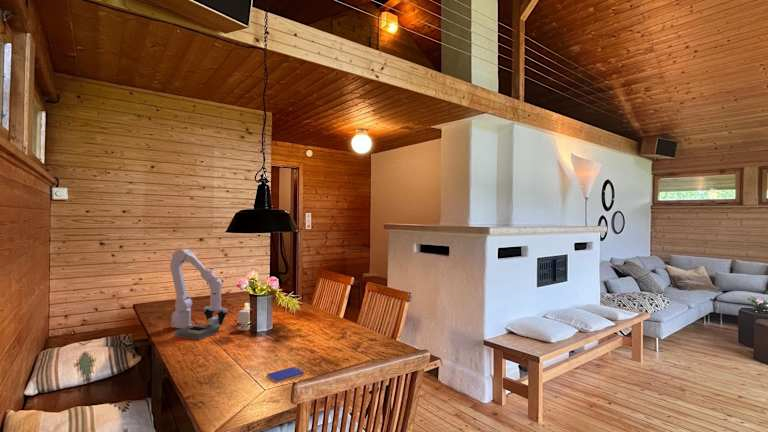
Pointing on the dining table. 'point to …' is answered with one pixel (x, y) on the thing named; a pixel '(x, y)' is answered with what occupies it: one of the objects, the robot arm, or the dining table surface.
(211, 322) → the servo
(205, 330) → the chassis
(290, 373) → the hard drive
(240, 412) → the dining table surface
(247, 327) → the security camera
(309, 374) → the dining table surface
